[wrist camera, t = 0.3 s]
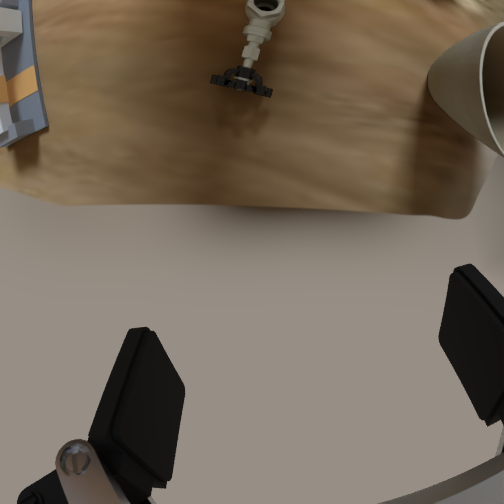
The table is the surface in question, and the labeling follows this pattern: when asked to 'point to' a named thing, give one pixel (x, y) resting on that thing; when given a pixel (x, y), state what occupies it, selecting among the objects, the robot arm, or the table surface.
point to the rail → (20, 81)
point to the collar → (9, 25)
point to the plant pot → (473, 85)
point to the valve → (253, 46)
